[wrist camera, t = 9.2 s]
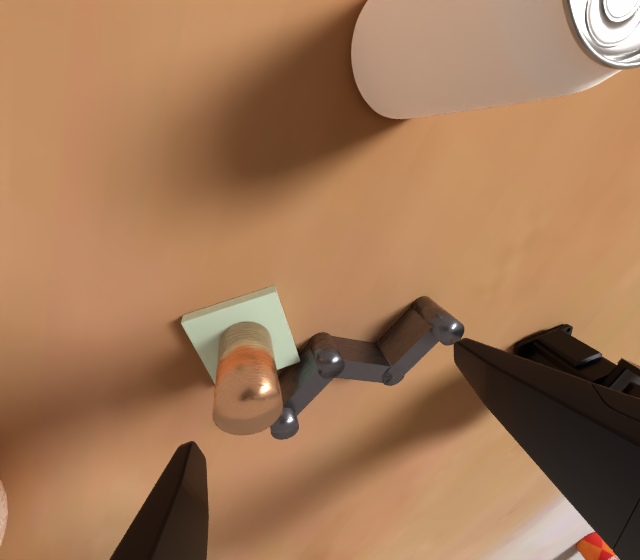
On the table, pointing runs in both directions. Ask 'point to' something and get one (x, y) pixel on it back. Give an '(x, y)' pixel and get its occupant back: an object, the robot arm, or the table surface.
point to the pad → (251, 307)
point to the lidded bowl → (3, 511)
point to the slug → (246, 380)
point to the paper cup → (595, 548)
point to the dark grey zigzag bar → (362, 359)
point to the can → (487, 51)
